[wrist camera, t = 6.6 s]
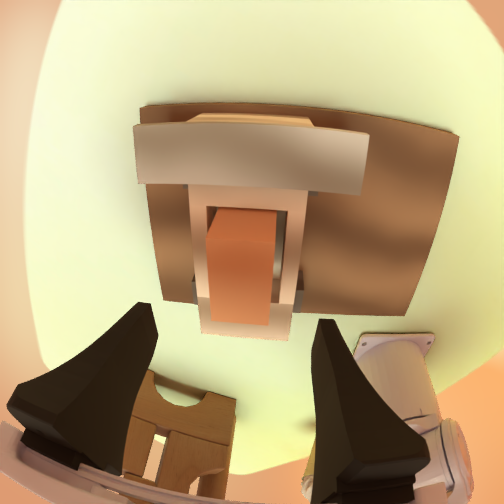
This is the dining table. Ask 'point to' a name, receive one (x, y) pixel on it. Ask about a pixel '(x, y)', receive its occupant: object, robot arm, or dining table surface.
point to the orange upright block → (241, 264)
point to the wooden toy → (181, 442)
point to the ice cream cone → (309, 475)
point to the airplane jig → (295, 203)
